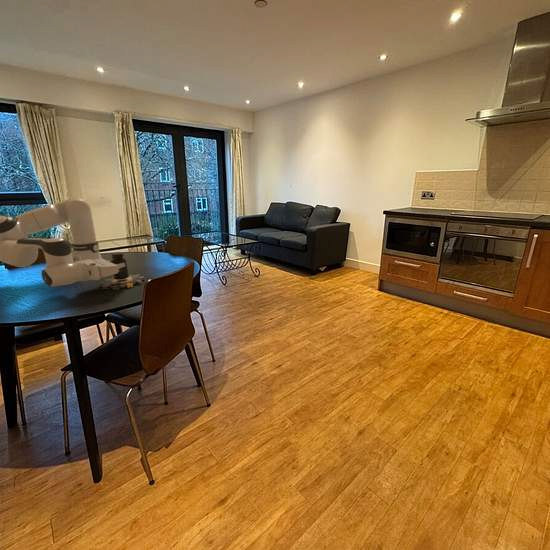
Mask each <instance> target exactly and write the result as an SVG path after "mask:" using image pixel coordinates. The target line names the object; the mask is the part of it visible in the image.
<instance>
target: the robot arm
mask: <svg viewBox="0 0 550 550" xmlns="http://www.w3.org/2000/svg"><path fill="white" fill-rule="evenodd" d="M90 206H91V205H90V204H89V202H87V200H85V199H83V198H81V197H76V196H73V197H70V198H67V199H64V200H60V201H58V202H55V203H52V204H48V205H45V206H41V207H38V208H35V209H32V210H28V211H25V212H23V213H21V214H18V215H17V216H10V215H0V262H2V263H5V264H7V265H10V266H14V267H19V268H24V267H29V266H31V265H32V264H33V263H35V261H37V259H38V258H39V257H38V256H39V249H41V250H42V252H43V254H44V259H45V263H46V268H44V269H42V270H41V274H40V275H41V277H42V280H43V282H44V284H45V285H46V286H48V287H51V288H52V287H61V286H67V285H72V284H75V283H76V282H77V283H78V282H86V281H91V280H92V281H99V280H101V278H106V277H110V276H113V275H114V274H117V273H118V272H119V268H121V267H125V263H120V264H114V263H111V260H112V259H109V260H106V259H104V258H103V257H102V255H101V252H100V246H99V241H98V240H97V235H96V232H95V231H96V230H95V226H94V220H93V216H92V210H91V207H90ZM67 223H69V226H70V231H71V236H72V240H73V244H72V243H71V242H70V241H69V240H67V239H66V238H64V237H38V236H37V237H36V236H35V237H33V236H31V237H30V236H28V235H31V234H37V233H40V232H43V231H44V232H45V231H46V230H50V229H52V228H56V227H59V226H61V225H64V224H67Z"/></svg>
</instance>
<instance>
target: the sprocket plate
mask: <svg viewBox="0 0 550 550" xmlns="http://www.w3.org/2000/svg"><path fill="white" fill-rule="evenodd" d="M142 280H144V281H145V276H142V275H141V274H131V273H129V277H128V278H126V279H121V280H116V279H114V277H113V276H112V277H110V278H105V279H104V280H102V282H100V283H99V287H100V288H102V290H104V289H106V291H107V289H108V290H113V291H120V289H125V287H126V288H127V289H130V287H131V288H133V287H134V286H136V285H141V284H143V283H142V282H143V281H142ZM135 284H136V285H135ZM133 285H134V286H133Z"/></svg>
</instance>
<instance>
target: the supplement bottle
mask: <svg viewBox="0 0 550 550" xmlns="http://www.w3.org/2000/svg"><path fill="white" fill-rule="evenodd" d="M110 260H111V263H114V264H120V263H125V267H121V268H119V272H118V273H117V274H114V275H112V278H113V277H114V279H116V280H121V279H126V278H128V277H129V274H130V271H129V267H128V266H129V265H128V261H127V259H126V258H125V256H124V253H123V252H121V251H120V252H114V253H111V259H110Z"/></svg>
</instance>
